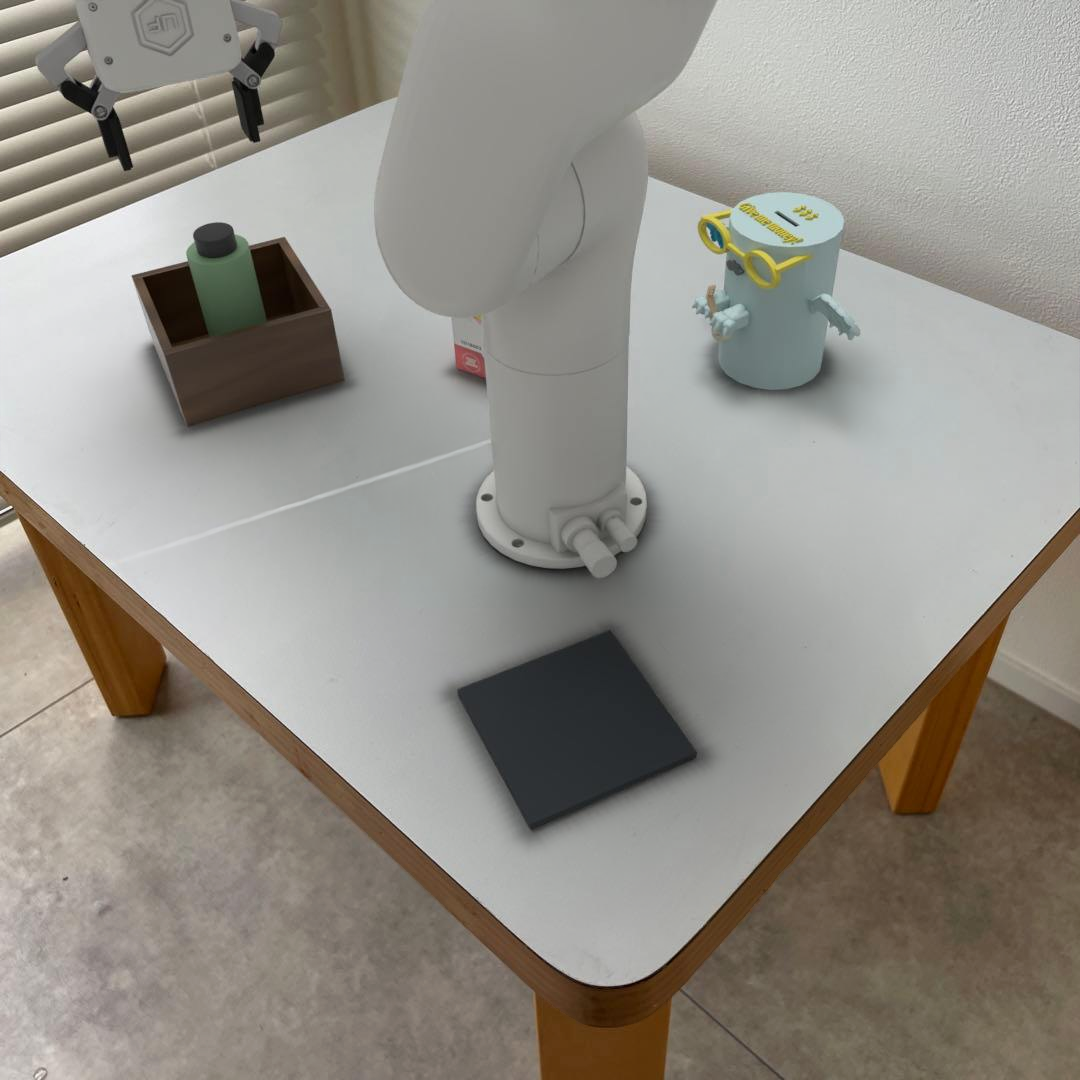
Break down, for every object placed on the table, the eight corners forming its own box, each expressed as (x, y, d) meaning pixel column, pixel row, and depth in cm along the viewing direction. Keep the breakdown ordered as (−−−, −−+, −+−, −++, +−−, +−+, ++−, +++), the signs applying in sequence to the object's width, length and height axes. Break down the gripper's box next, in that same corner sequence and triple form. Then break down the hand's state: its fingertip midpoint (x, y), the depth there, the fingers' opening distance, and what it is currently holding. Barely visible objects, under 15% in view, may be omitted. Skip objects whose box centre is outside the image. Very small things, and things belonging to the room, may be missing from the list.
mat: (696, 757, 68) (697, 752, 68) (530, 830, 65) (530, 824, 64) (610, 635, 75) (610, 629, 75) (457, 694, 72) (456, 689, 72)
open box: (345, 383, 97) (331, 309, 92) (188, 430, 93) (164, 355, 88) (299, 308, 106) (284, 236, 101) (154, 347, 102) (131, 274, 97)
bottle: (282, 368, 98) (251, 237, 90) (225, 384, 97) (188, 253, 88) (266, 339, 102) (235, 211, 93) (211, 354, 100) (175, 225, 92)
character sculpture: (636, 329, 102) (640, 188, 92) (741, 292, 105) (755, 153, 96) (774, 449, 89) (794, 300, 79) (888, 403, 92) (920, 255, 83)
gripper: (-5, -64, 69) (81, 196, 81) (270, -107, 74) (313, 144, 86) (-18, -95, 74) (65, 154, 86) (240, -133, 79) (285, 108, 91)
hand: (189, 149), depth 86 cm, fingers open, 9 cm apart
